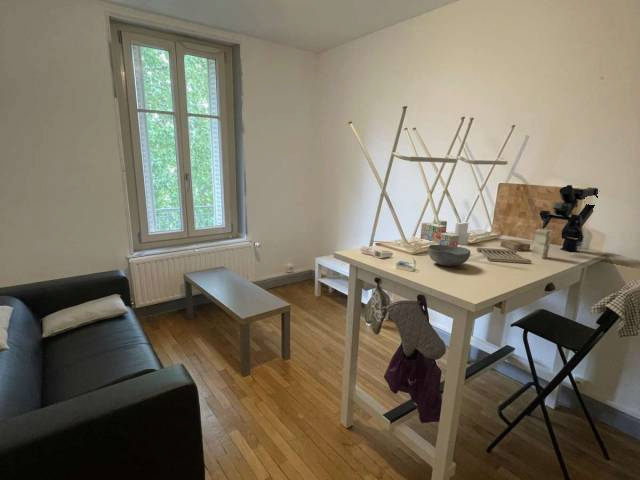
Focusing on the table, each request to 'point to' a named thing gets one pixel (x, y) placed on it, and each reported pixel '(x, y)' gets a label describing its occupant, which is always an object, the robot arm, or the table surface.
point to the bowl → (448, 254)
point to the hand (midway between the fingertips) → (552, 229)
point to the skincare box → (441, 222)
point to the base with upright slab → (462, 233)
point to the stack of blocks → (438, 234)
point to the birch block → (541, 243)
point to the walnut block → (515, 245)
